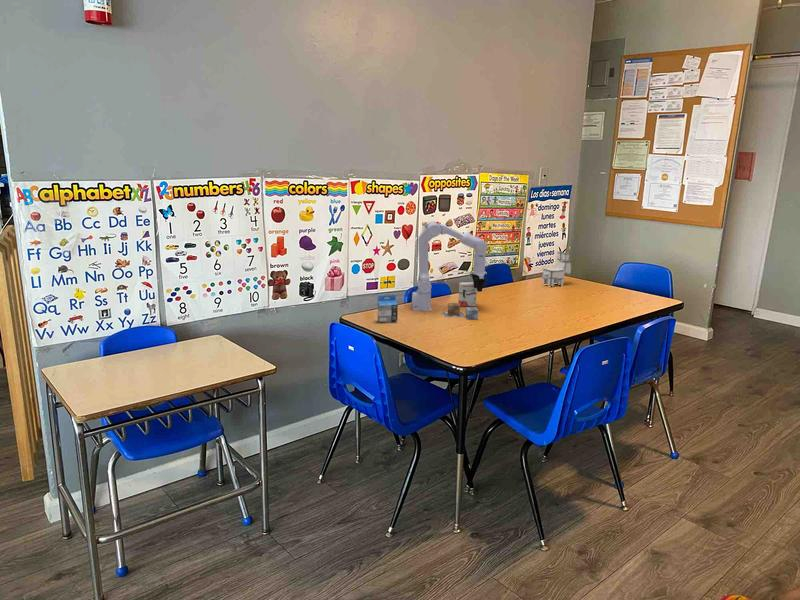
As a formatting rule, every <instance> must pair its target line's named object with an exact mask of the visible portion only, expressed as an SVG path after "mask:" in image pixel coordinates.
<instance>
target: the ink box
mask: <svg viewBox="0 0 800 600" xmlns="http://www.w3.org/2000/svg"><path fill="white" fill-rule="evenodd" d="M477 294H478V292H477V288H474V283H473V281H471V282H466V281H465V282H459V283H458V302H457V303H458V304H459V305H460V307H476V306H477V296H478V295H477Z"/></svg>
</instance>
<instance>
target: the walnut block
mask: <svg viewBox="0 0 800 600" xmlns="http://www.w3.org/2000/svg"><path fill="white" fill-rule="evenodd" d="M447 312H448V314H449V316H460V312H461V306H460V305H459V304H458V302H451V303H450V302H449V303H447Z"/></svg>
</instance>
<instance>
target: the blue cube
mask: <svg viewBox="0 0 800 600" xmlns="http://www.w3.org/2000/svg"><path fill="white" fill-rule="evenodd" d="M464 316H465V317H464V318H466V320H467V321H473V320H474V321H475V320H477V321H478V319H479V309H478V308H477V307H476V306H465V315H464Z"/></svg>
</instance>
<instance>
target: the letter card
mask: <svg viewBox="0 0 800 600" xmlns="http://www.w3.org/2000/svg"><path fill="white" fill-rule="evenodd" d="M441 313H442V314H443V316H444V317H445V318H466V317H465V316H466V315H465V314H464V313H463V311H460V316H449V314H448V311H441Z"/></svg>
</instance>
